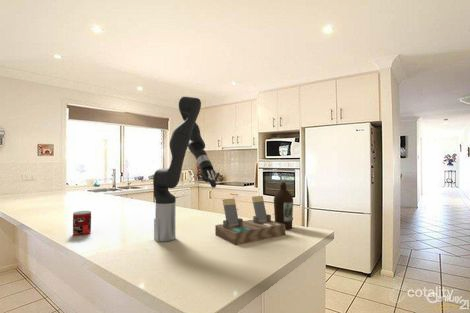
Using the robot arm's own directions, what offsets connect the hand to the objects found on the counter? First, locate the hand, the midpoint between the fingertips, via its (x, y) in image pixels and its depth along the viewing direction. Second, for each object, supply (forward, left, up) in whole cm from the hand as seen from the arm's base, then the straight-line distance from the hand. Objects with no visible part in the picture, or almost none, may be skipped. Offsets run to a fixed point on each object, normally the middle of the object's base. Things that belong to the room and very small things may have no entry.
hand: (214, 186), depth 144 cm
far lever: (+18, -19, -17) cm, 31 cm away
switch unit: (+9, -21, -23) cm, 32 cm away
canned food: (-62, +27, -23) cm, 71 cm away
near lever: (0, -19, -17) cm, 26 cm away
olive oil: (+33, -19, -23) cm, 45 cm away
